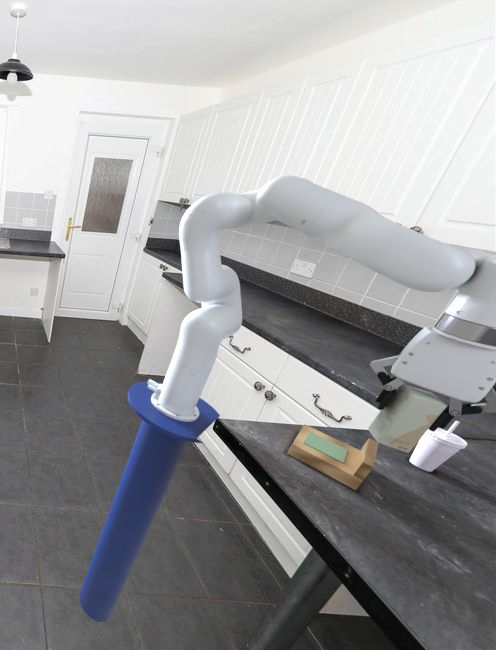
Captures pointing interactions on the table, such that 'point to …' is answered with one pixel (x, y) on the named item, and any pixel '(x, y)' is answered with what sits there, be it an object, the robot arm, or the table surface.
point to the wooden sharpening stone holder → (334, 456)
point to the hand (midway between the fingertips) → (405, 416)
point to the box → (406, 418)
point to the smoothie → (436, 448)
